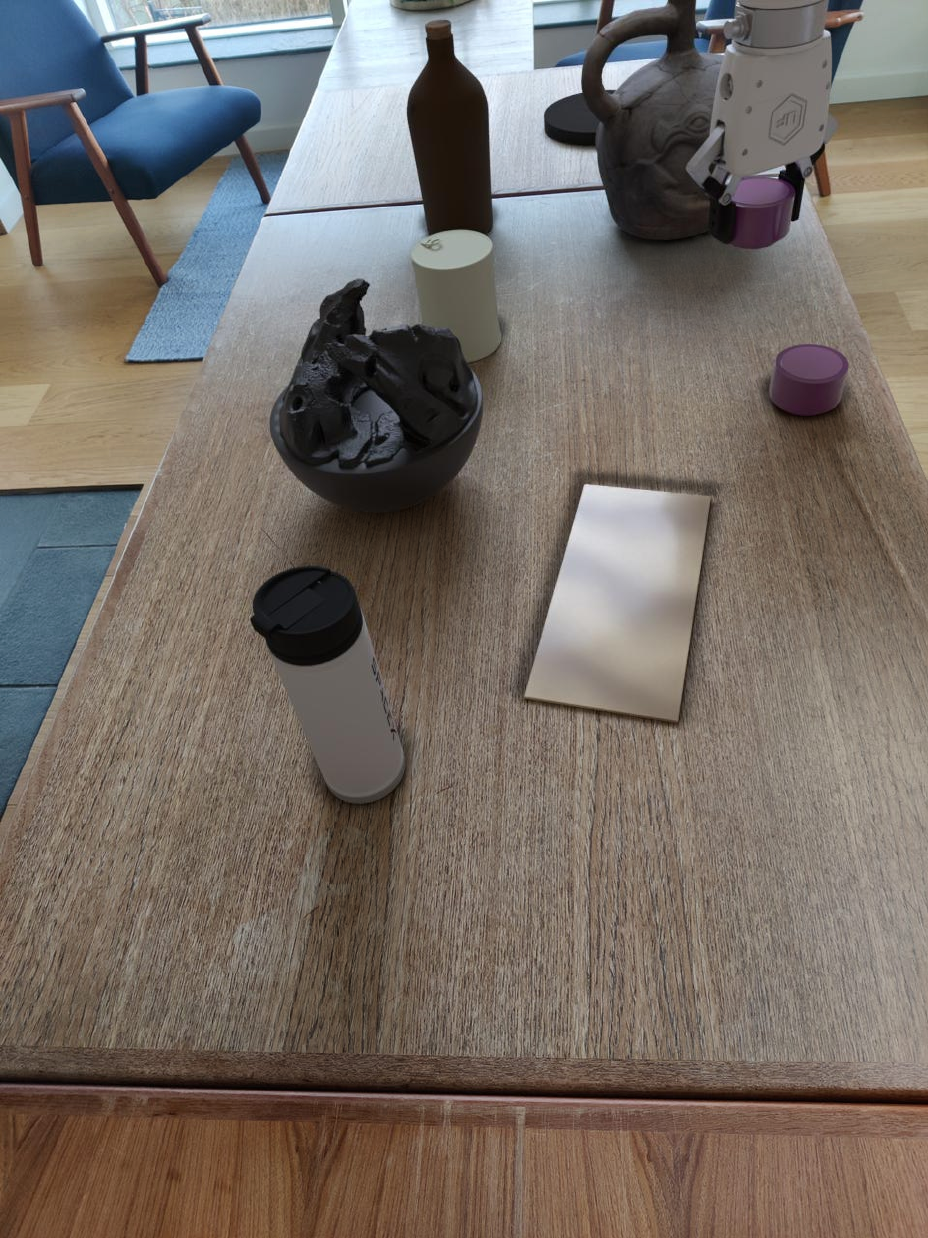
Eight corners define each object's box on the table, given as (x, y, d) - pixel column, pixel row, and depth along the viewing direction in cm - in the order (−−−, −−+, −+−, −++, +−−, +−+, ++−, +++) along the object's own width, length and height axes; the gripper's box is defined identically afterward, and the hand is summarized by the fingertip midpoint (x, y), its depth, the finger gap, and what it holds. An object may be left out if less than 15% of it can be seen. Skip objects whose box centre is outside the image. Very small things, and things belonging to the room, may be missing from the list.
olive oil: (477, 249, 121) (456, 39, 102) (410, 240, 125) (378, 36, 106) (509, 214, 127) (496, 9, 108) (444, 206, 130) (420, 8, 112)
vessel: (672, 287, 109) (694, 0, 86) (542, 239, 120) (532, -25, 98) (787, 212, 118) (833, -65, 96) (657, 174, 130) (671, -81, 108)
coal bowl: (449, 573, 80) (420, 399, 66) (260, 537, 86) (196, 370, 72) (517, 440, 92) (504, 268, 78) (346, 415, 98) (306, 252, 84)
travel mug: (305, 777, 68) (224, 602, 53) (367, 721, 71) (307, 540, 56) (359, 824, 65) (290, 652, 50) (422, 763, 67) (374, 584, 52)
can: (454, 314, 110) (442, 218, 101) (516, 332, 106) (509, 233, 97) (409, 352, 106) (392, 255, 97) (471, 371, 101) (460, 272, 92)
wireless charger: (536, 112, 151) (535, 99, 149) (639, 96, 151) (640, 83, 149) (554, 152, 139) (554, 139, 137) (666, 135, 139) (667, 121, 137)
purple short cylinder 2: (825, 377, 94) (834, 338, 90) (849, 416, 89) (859, 377, 86) (759, 386, 94) (765, 348, 90) (780, 425, 89) (787, 387, 86)
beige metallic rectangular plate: (584, 486, 86) (584, 483, 86) (710, 498, 83) (711, 496, 83) (524, 698, 70) (523, 696, 70) (677, 723, 67) (678, 721, 67)
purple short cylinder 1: (776, 216, 92) (783, 171, 88) (797, 247, 87) (805, 201, 84) (708, 226, 92) (712, 181, 89) (726, 258, 87) (731, 211, 84)
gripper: (717, 57, 71) (700, 268, 85) (893, 5, 75) (850, 216, 88) (666, 36, 76) (657, 238, 90) (834, -12, 80) (801, 190, 93)
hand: (753, 226), depth 89 cm, fingers closed on purple short cylinder 1, 7 cm apart
